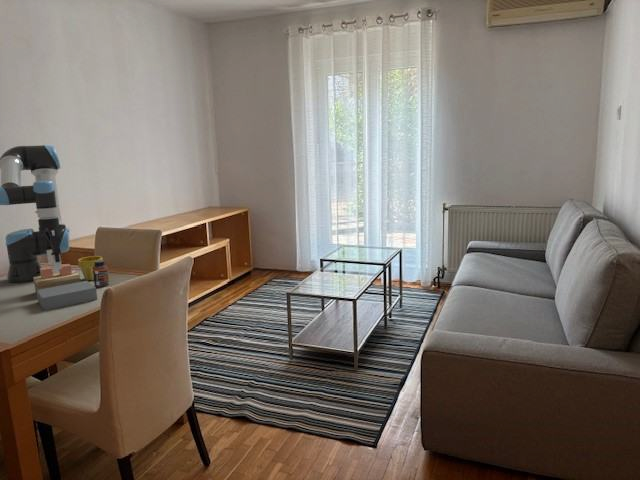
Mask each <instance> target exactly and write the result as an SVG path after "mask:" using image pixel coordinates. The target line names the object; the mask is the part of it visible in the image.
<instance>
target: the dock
mask: <svg viewBox="0 0 640 480" xmlns="http://www.w3.org/2000/svg"><path fill="white" fill-rule="evenodd" d="M36 291H37V293H36V297H37V302H38V304H39V305H40V306H41V308H42V309H43V311H49V310H53V309H59V308H63V307H68V306H73V305H77V304H82V303H87V302H91V301H97V300H98V293H97V287H96V286H95V285H93V284H92V283H91V282H89V280H84V281H80V282H77V283H72V284H67V285H61V286H56V287H50V288H45V289H40V290H36ZM36 291H35V292H36Z"/></svg>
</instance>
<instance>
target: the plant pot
mask: <svg viewBox="0 0 640 480" xmlns="http://www.w3.org/2000/svg"><path fill="white" fill-rule="evenodd" d="M98 260H103V257H102V256H100V255H93V256H85V257H81V258H79V259H78V260H77V265H78V267H79V268H80V269H81V272H82V275H83V277H84V281H94V276H93V267H94V266H95V263H94V262H95V261H98Z"/></svg>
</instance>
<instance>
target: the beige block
mask: <svg viewBox="0 0 640 480" xmlns="http://www.w3.org/2000/svg"><path fill="white" fill-rule="evenodd" d="M71 271H72V274H71V275H65V276H61V275H60V272H57V273H56V272H55V273H53V278H48V279H42V278H41V276H38V277H33V278H34V280H33V282H34V288H35V290H34V291H35V293H36V294H37V291H36V290H40V289H45V288H50V287H56V286H61V285H67V284H72V283H77V282H81V277H80V274H79V273H78V272H77V271H76V270H71Z"/></svg>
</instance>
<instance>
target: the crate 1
mask: <svg viewBox="0 0 640 480" xmlns="http://www.w3.org/2000/svg"><path fill="white" fill-rule="evenodd" d="M40 273H41V278H42V279H48V278H53V274H54V272H53V268H52V267H51V266H47V267H42V268H40Z"/></svg>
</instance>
